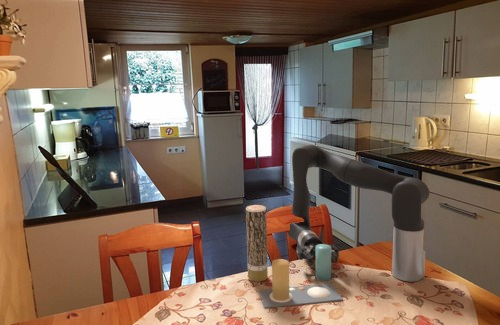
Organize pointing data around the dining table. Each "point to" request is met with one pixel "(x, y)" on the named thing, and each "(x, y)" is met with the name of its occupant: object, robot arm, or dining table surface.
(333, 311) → the dining table surface
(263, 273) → the wooden log
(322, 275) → the teal tube
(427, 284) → the dining table surface
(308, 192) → the robot arm
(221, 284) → the dining table surface
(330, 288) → the card
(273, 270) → the amber tube
